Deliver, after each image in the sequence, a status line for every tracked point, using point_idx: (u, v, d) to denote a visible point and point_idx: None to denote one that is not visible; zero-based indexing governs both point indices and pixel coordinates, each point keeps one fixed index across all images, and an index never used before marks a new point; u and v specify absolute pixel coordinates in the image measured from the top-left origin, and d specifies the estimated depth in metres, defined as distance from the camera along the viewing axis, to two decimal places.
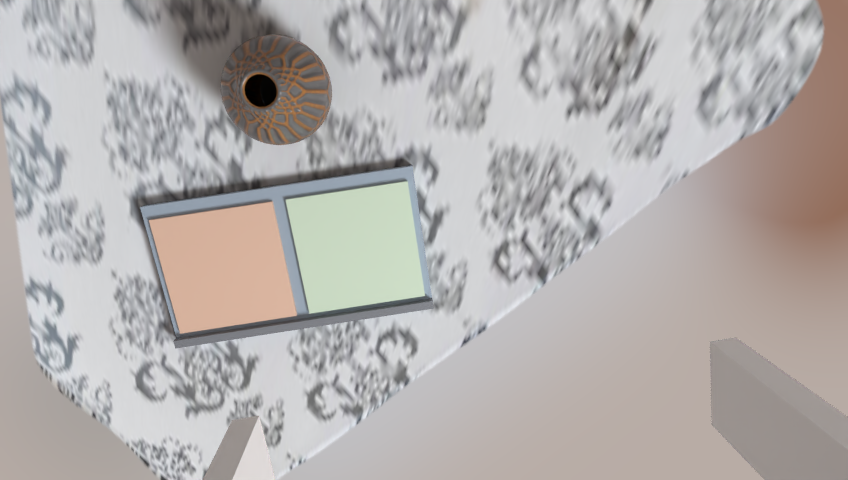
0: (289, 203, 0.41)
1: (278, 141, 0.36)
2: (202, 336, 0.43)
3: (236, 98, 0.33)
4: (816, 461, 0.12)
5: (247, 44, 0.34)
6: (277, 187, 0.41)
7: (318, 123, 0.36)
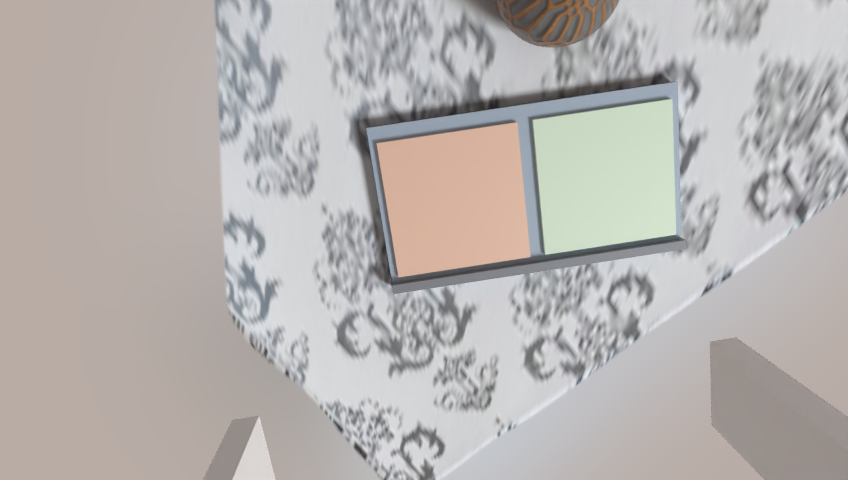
0: (536, 124, 0.36)
1: (567, 37, 0.30)
2: (424, 280, 0.38)
3: None
4: (816, 461, 0.12)
5: None
6: (523, 105, 0.36)
7: None
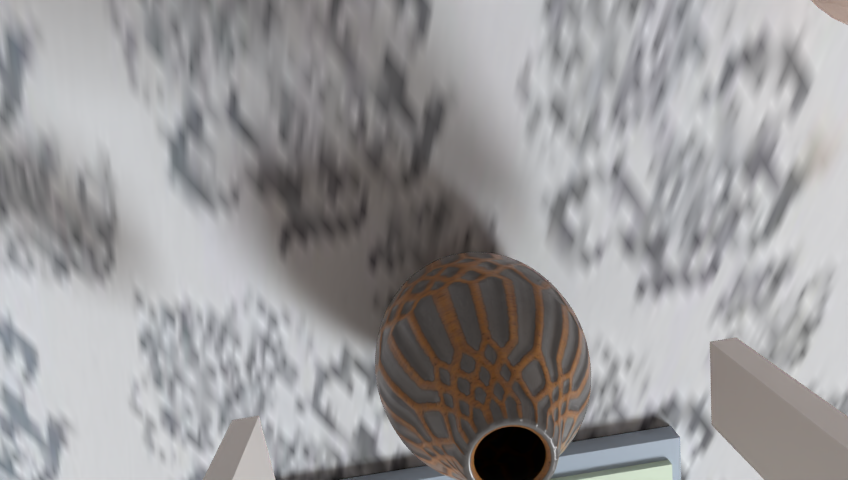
0: None
1: None
2: None
3: (439, 448, 0.15)
4: (816, 461, 0.12)
5: (450, 311, 0.16)
6: (441, 477, 0.23)
7: None
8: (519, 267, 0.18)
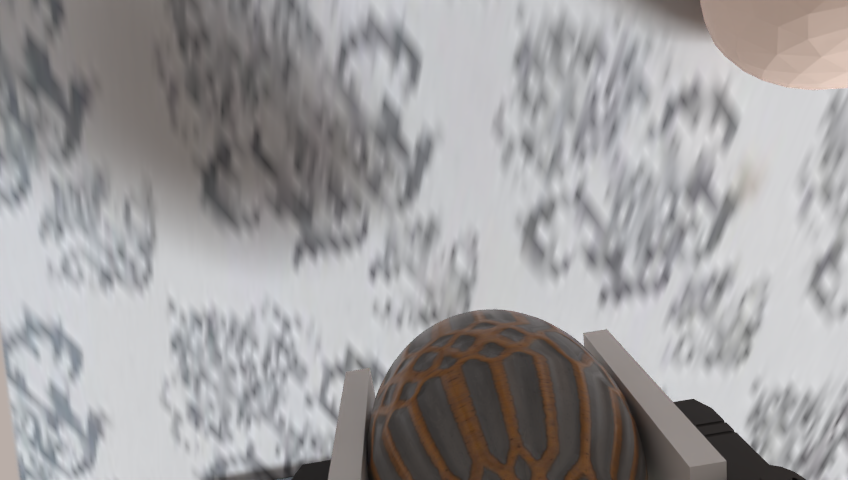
0: None
1: None
2: None
3: None
4: (641, 436, 0.14)
5: (466, 404, 0.12)
6: None
7: None
8: (552, 335, 0.14)
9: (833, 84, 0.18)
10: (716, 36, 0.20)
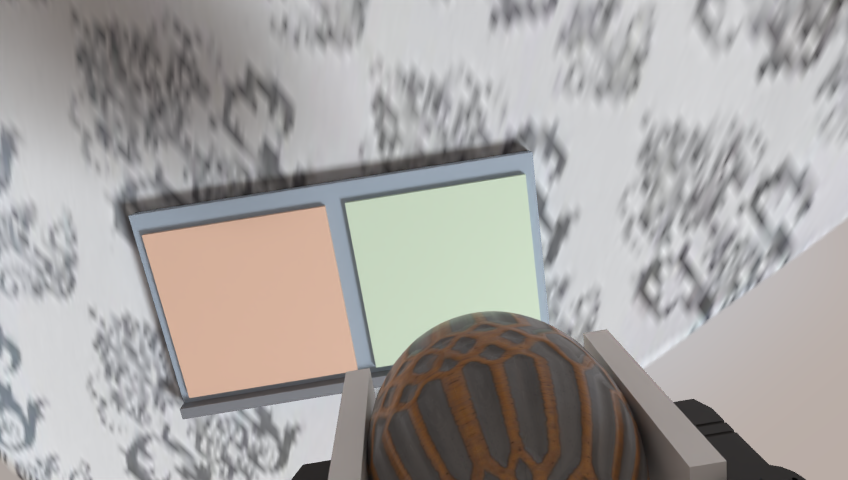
0: (350, 208, 0.28)
1: None
2: (221, 401, 0.30)
3: None
4: (641, 436, 0.14)
5: (466, 406, 0.12)
6: (332, 185, 0.27)
7: None
8: (553, 337, 0.14)
9: None
10: None
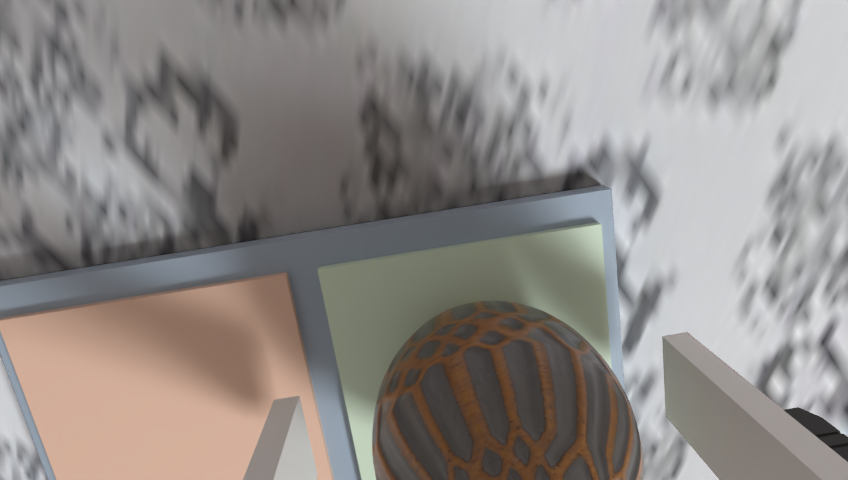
0: (326, 277, 0.18)
1: None
2: None
3: None
4: (748, 447, 0.13)
5: (467, 388, 0.12)
6: (298, 240, 0.17)
7: None
8: (550, 324, 0.14)
9: None
10: None
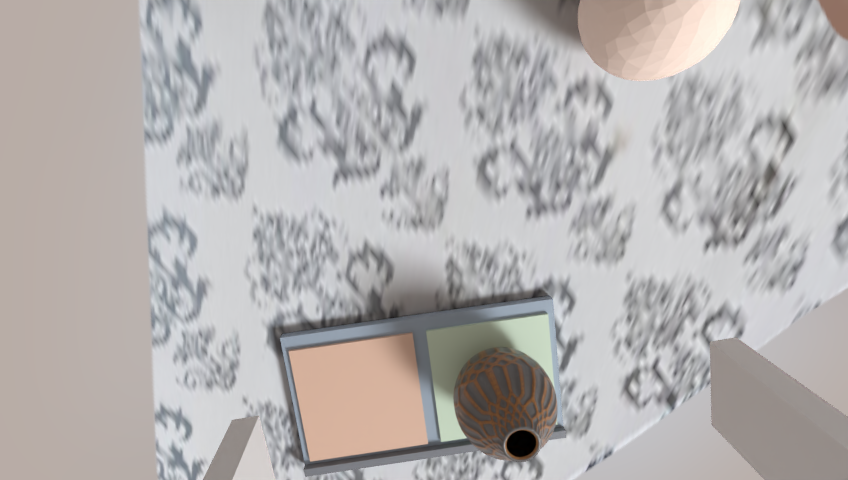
0: (429, 335, 0.41)
1: None
2: (332, 464, 0.42)
3: (490, 440, 0.34)
4: (816, 461, 0.12)
5: (494, 380, 0.35)
6: (417, 319, 0.41)
7: None
8: (524, 357, 0.37)
9: (640, 77, 0.33)
10: (585, 49, 0.35)
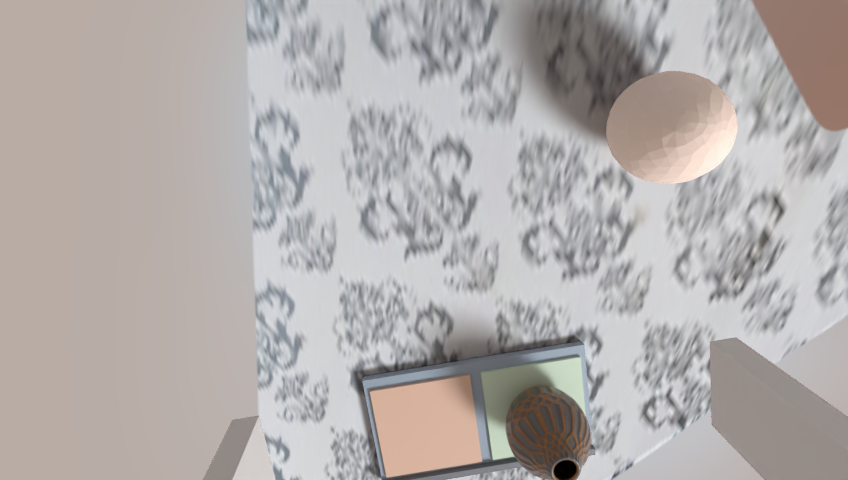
0: (483, 376, 0.50)
1: None
2: None
3: (539, 466, 0.44)
4: (816, 461, 0.12)
5: (541, 418, 0.45)
6: (474, 363, 0.50)
7: None
8: (563, 397, 0.47)
9: (657, 182, 0.41)
10: (612, 154, 0.43)
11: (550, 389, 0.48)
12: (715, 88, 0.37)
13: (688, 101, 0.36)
